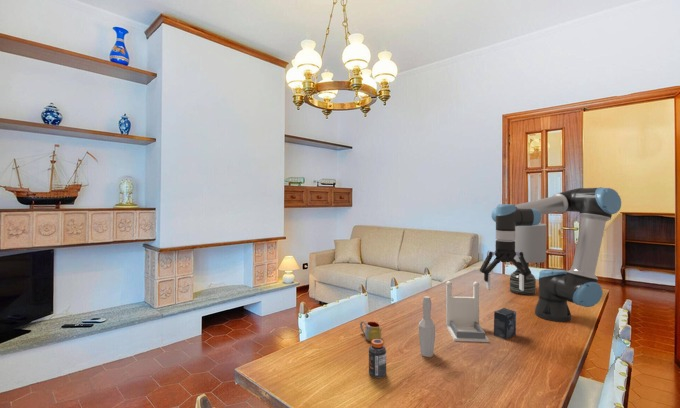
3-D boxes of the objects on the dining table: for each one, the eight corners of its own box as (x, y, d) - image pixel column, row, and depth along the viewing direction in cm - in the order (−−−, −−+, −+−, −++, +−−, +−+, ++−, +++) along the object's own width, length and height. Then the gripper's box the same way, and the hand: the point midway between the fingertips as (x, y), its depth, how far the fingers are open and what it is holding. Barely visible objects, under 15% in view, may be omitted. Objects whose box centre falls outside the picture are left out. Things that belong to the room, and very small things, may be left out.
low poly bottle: (432, 359, 120) (432, 300, 120) (416, 355, 124) (416, 297, 123) (437, 352, 126) (437, 296, 125) (421, 348, 129) (421, 293, 128)
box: (506, 340, 136) (506, 315, 136) (493, 335, 141) (493, 311, 141) (516, 335, 140) (516, 311, 140) (503, 330, 145) (503, 307, 145)
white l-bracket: (478, 326, 150) (478, 280, 149) (489, 342, 134) (490, 290, 134) (445, 325, 151) (445, 280, 151) (453, 340, 136) (453, 290, 135)
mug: (385, 340, 137) (385, 324, 137) (372, 344, 133) (372, 328, 133) (367, 330, 147) (367, 316, 147) (355, 334, 143) (355, 319, 143)
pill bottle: (367, 369, 114) (367, 337, 114) (384, 368, 115) (384, 336, 114) (370, 379, 108) (370, 345, 108) (388, 378, 109) (387, 344, 108)
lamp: (554, 298, 189) (555, 225, 188) (513, 298, 190) (513, 225, 188) (531, 286, 213) (531, 222, 212) (494, 286, 214) (494, 222, 212)
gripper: (531, 239, 142) (531, 287, 142) (472, 238, 145) (472, 286, 145) (540, 241, 134) (539, 292, 135) (477, 241, 137) (477, 291, 138)
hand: (504, 289), depth 140 cm, fingers open, 13 cm apart
